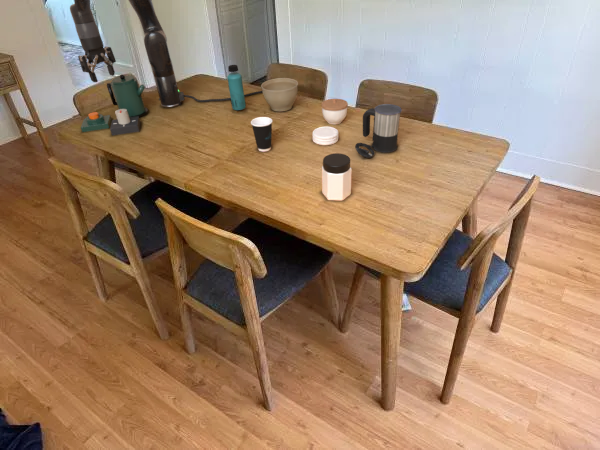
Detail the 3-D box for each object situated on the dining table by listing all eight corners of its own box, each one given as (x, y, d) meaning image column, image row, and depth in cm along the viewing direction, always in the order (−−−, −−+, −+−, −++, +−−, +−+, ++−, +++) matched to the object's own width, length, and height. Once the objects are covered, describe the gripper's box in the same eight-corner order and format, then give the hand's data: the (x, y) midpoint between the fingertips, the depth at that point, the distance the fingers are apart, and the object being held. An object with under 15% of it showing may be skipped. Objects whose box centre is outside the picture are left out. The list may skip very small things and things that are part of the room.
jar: (334, 183, 133) (334, 149, 126) (355, 191, 129) (356, 157, 122) (317, 195, 128) (316, 161, 121) (338, 204, 124) (338, 169, 116)
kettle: (158, 109, 192) (148, 70, 181) (145, 120, 182) (133, 79, 171) (123, 108, 195) (111, 69, 184) (109, 119, 185) (94, 79, 174)
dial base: (140, 122, 181) (138, 115, 179) (139, 131, 173) (137, 124, 171) (114, 126, 179) (112, 119, 177) (112, 135, 171) (109, 128, 169)
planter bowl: (278, 99, 195) (276, 75, 189) (306, 105, 187) (305, 81, 181) (256, 110, 185) (253, 86, 178) (284, 117, 177) (282, 92, 171)
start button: (100, 115, 180) (98, 111, 179) (98, 118, 177) (97, 115, 176) (90, 116, 179) (88, 112, 178) (89, 120, 176) (87, 116, 175)
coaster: (342, 136, 160) (342, 127, 158) (332, 147, 153) (332, 138, 151) (318, 132, 164) (318, 124, 162) (308, 143, 157) (308, 134, 155)
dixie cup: (255, 144, 158) (251, 117, 152) (275, 143, 158) (273, 116, 151) (253, 154, 152) (249, 126, 145) (274, 153, 152) (271, 125, 145)
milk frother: (399, 143, 153) (403, 104, 144) (392, 163, 142) (396, 122, 133) (361, 139, 157) (363, 101, 148) (352, 158, 146) (353, 119, 137)
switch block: (111, 119, 185) (108, 111, 183) (109, 128, 177) (106, 119, 175) (86, 123, 183) (82, 114, 181) (82, 132, 176) (79, 123, 173)
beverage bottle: (247, 107, 188) (242, 62, 176) (245, 113, 183) (238, 67, 171) (234, 108, 189) (227, 63, 177) (230, 113, 184) (223, 68, 171)
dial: (118, 121, 176) (114, 109, 172) (130, 119, 176) (126, 107, 173) (118, 125, 172) (114, 113, 169) (130, 123, 173) (126, 111, 170)
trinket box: (343, 127, 166) (344, 105, 160) (318, 125, 169) (318, 103, 164) (349, 117, 174) (350, 95, 168) (325, 115, 177) (325, 93, 171)
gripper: (97, 29, 160) (111, 72, 170) (66, 39, 150) (82, 83, 160) (111, 31, 157) (124, 74, 167) (80, 40, 147) (96, 85, 157)
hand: (104, 78), depth 164 cm, fingers open, 8 cm apart
